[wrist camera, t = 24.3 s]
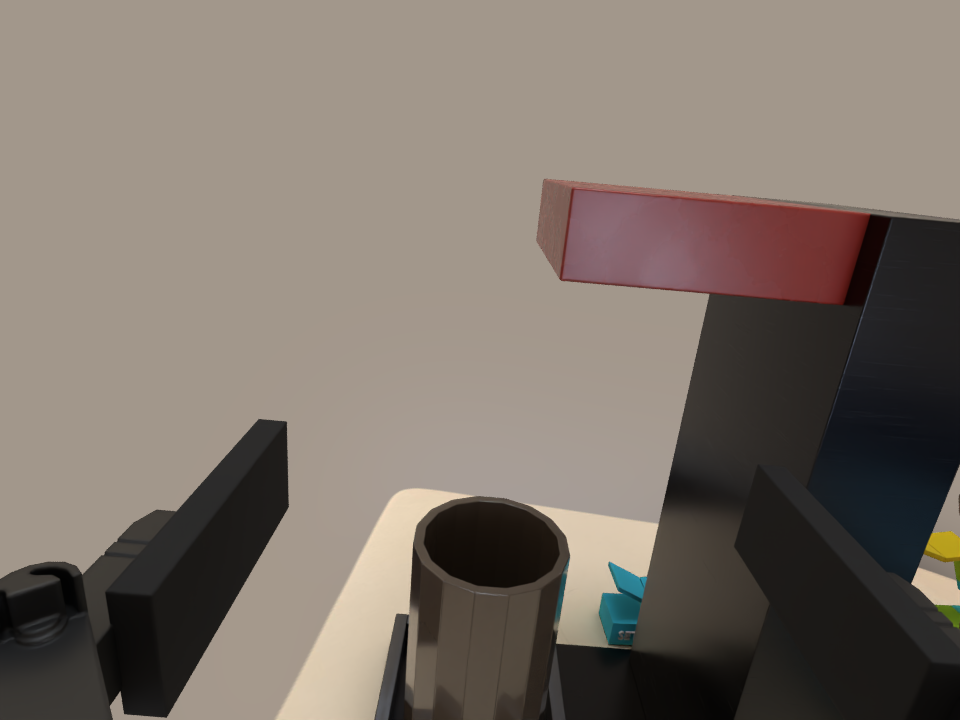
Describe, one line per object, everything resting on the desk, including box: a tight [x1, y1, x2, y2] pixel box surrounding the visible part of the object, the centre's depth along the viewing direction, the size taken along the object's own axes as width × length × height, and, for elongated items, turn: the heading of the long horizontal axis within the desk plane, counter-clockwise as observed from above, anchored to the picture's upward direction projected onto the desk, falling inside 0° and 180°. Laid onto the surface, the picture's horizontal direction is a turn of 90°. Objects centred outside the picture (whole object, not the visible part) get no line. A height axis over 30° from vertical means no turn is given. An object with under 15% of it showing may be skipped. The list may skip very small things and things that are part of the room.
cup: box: [403, 496, 570, 720], centre depth 30 cm, size 8×8×13 cm
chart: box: [599, 531, 960, 645], centre depth 40 cm, size 30×3×15 cm, turn 93°
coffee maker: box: [374, 179, 960, 720], centre depth 28 cm, size 21×14×31 cm, turn 89°
